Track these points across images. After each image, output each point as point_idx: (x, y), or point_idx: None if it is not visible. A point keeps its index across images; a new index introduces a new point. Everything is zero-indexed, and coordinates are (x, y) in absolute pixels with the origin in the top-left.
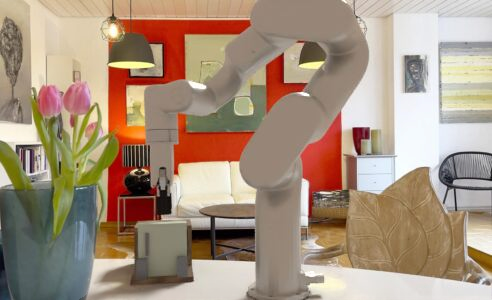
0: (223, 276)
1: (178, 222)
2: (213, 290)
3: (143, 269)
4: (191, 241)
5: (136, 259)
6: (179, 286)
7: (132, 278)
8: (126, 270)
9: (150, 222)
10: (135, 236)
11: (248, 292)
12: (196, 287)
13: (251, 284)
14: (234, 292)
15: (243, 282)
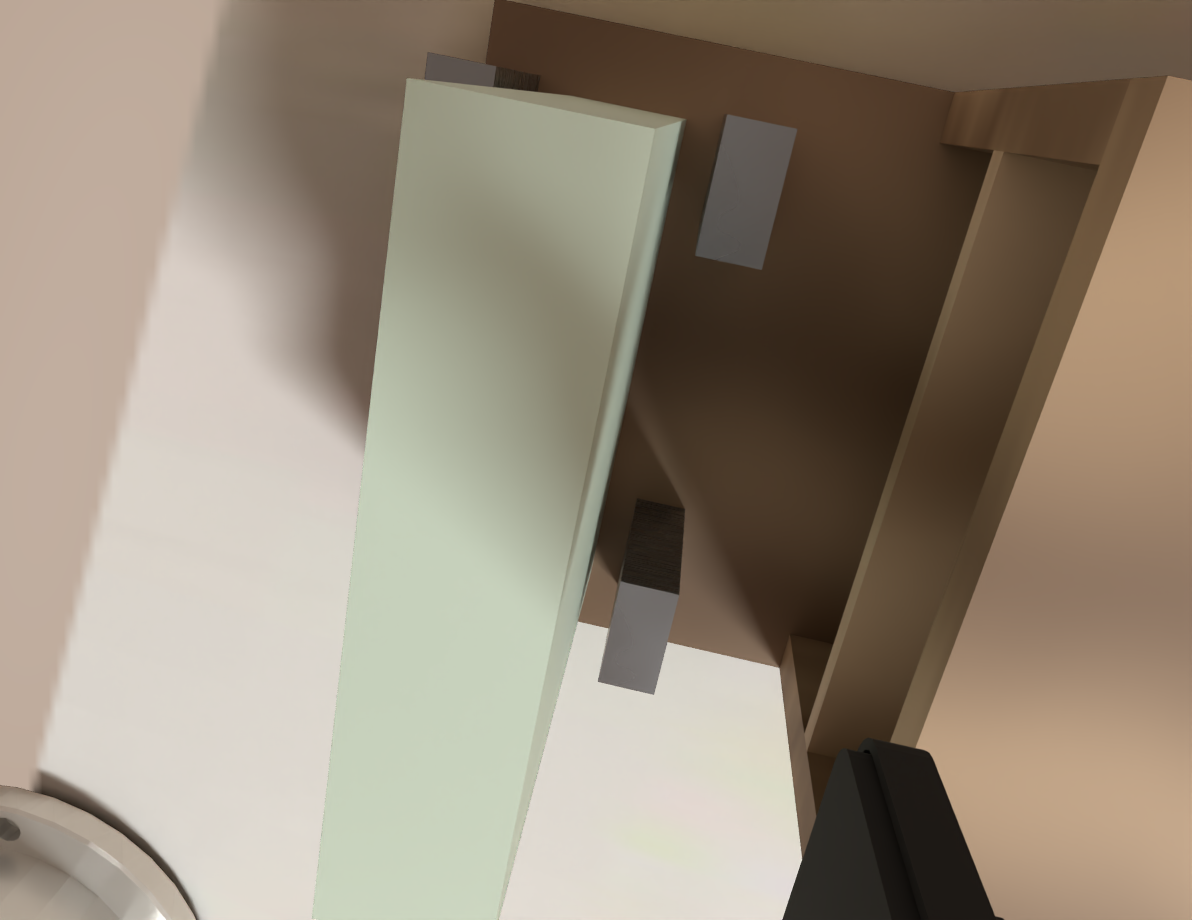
0: None
1: (385, 826)
2: (183, 629)
3: None
4: (799, 826)
5: (445, 58)
6: (348, 431)
7: (559, 29)
8: (1132, 11)
9: (591, 385)
10: (1086, 106)
11: (35, 796)
12: (283, 543)
13: (102, 862)
14: (109, 732)
15: (299, 856)
